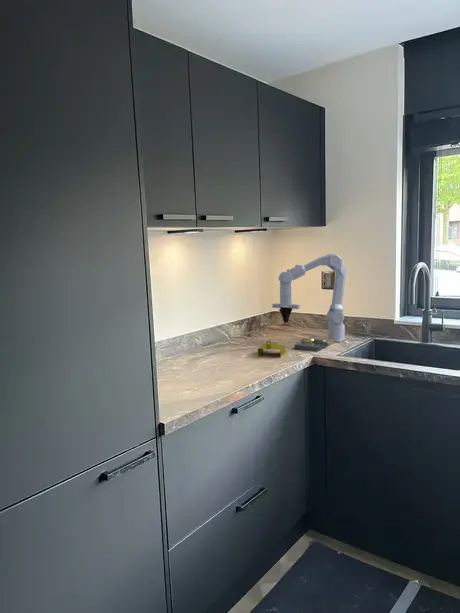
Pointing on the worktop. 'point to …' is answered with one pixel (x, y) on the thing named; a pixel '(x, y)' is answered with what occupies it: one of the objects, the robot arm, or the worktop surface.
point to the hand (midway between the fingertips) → (286, 322)
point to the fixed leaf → (312, 345)
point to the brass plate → (311, 339)
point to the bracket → (272, 347)
